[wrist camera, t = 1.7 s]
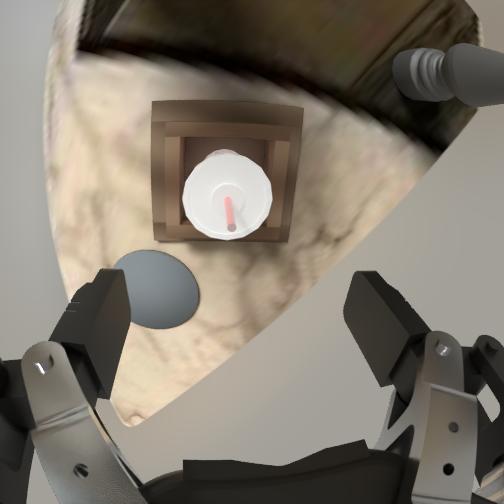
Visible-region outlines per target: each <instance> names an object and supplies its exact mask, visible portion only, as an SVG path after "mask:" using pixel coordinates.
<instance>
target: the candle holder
mask: <svg viewBox="0 0 504 504" xmlns="http://www.w3.org/2000/svg"><path fill="white" fill-rule="evenodd" d="M392 71H393V78H394V80H395V82H396V85H397V87H398V88H399V90H400V91H401V92H402V93H403V94H404V95H405V96H407V97H408V98H410V99H412V100H423V101H435V102H438V101H440V100H448V99H450V98H452V97H453V96H454V95H455V96H456V97H457V98H459V99H460V100H461V101H463V102H464V103H465V104H467V105H471V106H477V107H483V106H490V105H497V104H504V54H503V53H500V52H497V51H494V50H490V49H487V48H483V47H479V46H475V45H471V44H466V43H461V44H457V45H454V46H452V47H450V49H449V50H448V51H447V52H446V54H445V53H443V52H442V51H440V50H436V49H427V48H418V49H412V50H406V51H403V52H400V53H398V55H397V56H396V57H395V58H394V61H393V66H392Z"/></svg>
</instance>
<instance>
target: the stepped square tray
mask: <svg viewBox="0 0 504 504" xmlns="http://www.w3.org/2000/svg"><path fill="white" fill-rule="evenodd" d="M303 112H304V108H301V107H293V106H285V105H276V104H267V103H255V102H241V101H221V100H166V101H152V116H151V191H152V214H153V230H154V240H162V241H244V242H288V237H289V230H290V223H291V215H292V208H293V200H294V192H295V184H296V176H297V168H298V159H299V150H300V141H301V132H302V122H303ZM186 137H229V138H249V139H264V140H266V143H265V155H264V166H263V171H264V173H265V175H266V176H267V178H268V180H269V181H270V183H271V191H272V198H273V200H272V203H271V207H270V210H269V214H268V216H267V217H266V219H265V220H264V221H263V222H262V224H261V225H260V226H259V228H258V229H256V230H254V231H253V232H251V233H249V234H248V235H246V236H244V237H241V238H236V239H231V240H223V239H217V238H211V237H209V236H207V235H206V234H204V233H202V232H201V231H199V230H197V229H196V228H195V227H194V225H193V224H192V223H191V221H190V220H189V219H188V217H187V216H186V213H185V209H184V205H183V200H182V198H183V192H184V187H185V142H186Z"/></svg>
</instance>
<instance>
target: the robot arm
mask: <svg viewBox="0 0 504 504" xmlns="http://www.w3.org/2000/svg"><path fill="white" fill-rule="evenodd" d="M343 314H344V320H345V322H346V324H347V326H348V328H349V329H350V331H351V333H352V335H353V337H354V339H355V340H356V342H357V344H358V346H359V348H360V349H361V351H362V353H363V355H364V357H365V359H366V360H367V362H368V364H369V366H370V368H371V370H372V372H373V374H374V376H375V378H376V380H377V381H378V383H379V385H380V387H384V386H388V385H392V384H394V386H395V389H394V391H393V393H392V395H391V399H390V403H389V407H388V410H387V414H386V418H385V422H384V425H383V428H382V432H381V435H380V437H379V439H378V441H377V443H376V444H375V446H374V448H373V449H368V447H367V445H366V442H365V440H364V439H363V440H359V441H355V442H351V443H347V444H344V445H339V446H334V447H330V448H326V449H323V450H321V451H319V452H316V453H314V454H312V455H309V456H307V457H305V458H302V459H300V460H298V461H295V462H292V463H290V464H287V465H284V466H272V465H263V464H255V463H248V462H241V461H235V460H183V470H179V471H174V472H170V473H167V474H164V475H161V476H159V477H157V478H154V479H152V480H150V481H149V482H147V483H145V484H144V483H143V481H142V480H141V479H140V477H139V476H138V475H137V473H136V472H135V470H133V468H132V466H131V465H130V464H129V462H128V461H127V460H126V458H125V457H124V455H123V454H122V452H121V451H120V449H119V448H118V446H117V445H116V443H115V441H114V440H113V438H112V437H111V435H110V433H109V431H108V430H107V428H106V426H105V424H104V423H103V421H102V419H101V417H100V415H99V414H98V412H97V410H96V408H95V406H96V401H97V398H102V399H109V400H110V396H111V391H112V387H113V383H114V379H115V375H116V372H117V368H118V364H119V360H120V357H121V353H122V350H123V346H124V343H125V339H126V336H127V333H128V329H129V326H130V322H131V306H130V301H129V296H128V291H127V285H126V280H125V274H124V271H123V270H122V269H103V268H102V269H100V270H99V272H98V274H97V275H96V277H95V279H94V280H93V282H92V283H86V284H85V285H84V286H82V287H81V288H80V289H78V290H77V291H76V293H75V295H74V296H73V298H72V299H71V303H69V304H68V307H67V308H66V312H64V313H63V315H62V317H61V319H60V320H59V322H58V324H57V325H56V327H55V329H54V331H53V333H52V335H51V337H50V338H49V340H48V341H43V342H40V343H37V344H35V345H33V346H32V347H30V348H29V349H28V350H27V351H26V352H25V354H24V355H23V357H22V359H18V360H8V361H2V359H1V358H0V504H26V500H27V491H28V483H29V476H30V470H31V464H32V459H33V454H34V448H35V449H36V452H37V455H38V457H39V460H40V462H41V465H42V467H43V470H44V472H45V474H46V477H47V479H48V481H49V483H50V486H51V488H52V490H53V492H54V494H55V496H56V498H57V500H58V502H59V504H504V347H503V346H502V345H501V344H500V342H499V341H497V340H496V339H495V338H493V337H491V336H488V335H481V336H479V337H478V339H477V340H476V342H475V344H474V345H473V347H462V346H460V344H459V342H458V341H457V340H456V339H455V338H454V337H453V336H451V335H449V334H447V333H445V332H442V331H431V330H430V328H429V327H428V326H427V325H426V324H425V322H424V321H423V320H422V319H421V317H420V316H419V315H418V314H417V313H416V311H415V310H414V309H413V308H411V305H410V304H409V303H408V302H407V301H405V298H404V297H403V296H402V295H401V294H400V293H399V291H398V290H396V289H394V288H393V287H392V286H390V285H389V284H387V283H386V282H385V280H384V279H383V278H382V277H381V276H380V275H379V273H377V271H356V272H355V273H354V275H353V277H352V281H351V284H350V288H349V291H348V294H347V298H346V301H345V305H344V310H343ZM486 384H488V386H489V387H490V389H491V391H492V392H493V394H494V395H495V397H496V399H497V400H498V402H499V404H500V413H499V415H498V417H497V418H496V419H495V420H494V421H493V422H491V421H490V419H489V417H488V415H487V413H486V412H485V410H484V408H483V406H482V405H481V403H480V401H479V400H478V398H477V395H478V394H479V393H480V391H481V390H482V389H483V388H484V387H485V385H486ZM474 473H475V476H476V478H477V480H478V483H479V485H480V488H479V489H477V490H476V491H475V492H474V493H473V492H472V488H473V481H474Z"/></svg>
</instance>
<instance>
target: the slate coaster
mask: <svg viewBox="0 0 504 504" xmlns="http://www.w3.org/2000/svg"><path fill="white" fill-rule="evenodd" d="M113 269H122V270H123V271H124V274H125V280H126V285H127V291H128V296H129V301H130V306H131V321H132V322H133V323H135V324H138V325H140V326H143V327H146V328H151V329H167V328H172V327H175V326H178V325H180V324H182V323H183V322H185V321H186V320H187V319H189V318H190V317H191V315H192V314H193V313H194V311H195V309H196V307H197V303H198V286H197V282H196V280H195V278H194V276H193V274H192V272H191V271H190V270H189V269H188V267H187V266H186V265H184V264H183V263H182V262H181V261H180V260H178V259H177V258H175V257H173V256H171V255H169V254H167V253H164V252H161V251H155V250H139V251H135V252H132V253H129V254H127V255H125V256H124V257H122V258H121V259H120V260H119V261H118V262H117V263H116V264H115V266H114V267H113Z"/></svg>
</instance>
